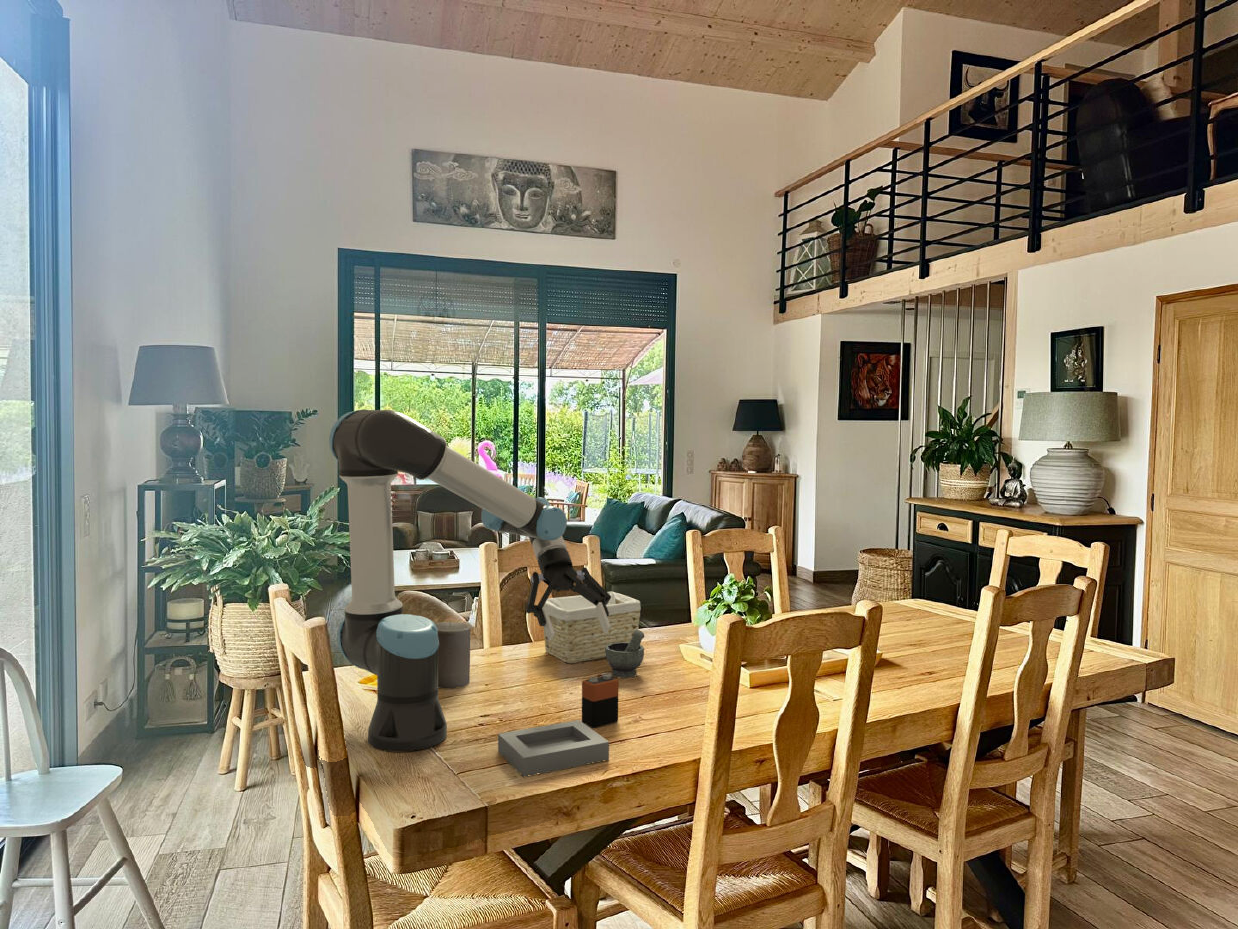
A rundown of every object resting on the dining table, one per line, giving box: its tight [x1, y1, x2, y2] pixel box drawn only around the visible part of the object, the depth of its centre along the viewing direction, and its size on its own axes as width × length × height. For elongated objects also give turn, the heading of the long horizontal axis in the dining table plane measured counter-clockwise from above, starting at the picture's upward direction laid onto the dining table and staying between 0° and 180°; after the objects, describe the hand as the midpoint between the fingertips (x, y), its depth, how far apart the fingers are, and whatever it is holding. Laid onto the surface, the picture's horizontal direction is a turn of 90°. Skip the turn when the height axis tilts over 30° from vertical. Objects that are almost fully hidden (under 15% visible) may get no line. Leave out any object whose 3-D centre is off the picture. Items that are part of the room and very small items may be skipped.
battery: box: [581, 672, 619, 729], centre depth 178 cm, size 4×7×10 cm, turn 127°
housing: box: [497, 719, 610, 777], centre depth 160 cm, size 17×13×4 cm
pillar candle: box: [435, 620, 472, 690], centre depth 204 cm, size 10×10×15 cm
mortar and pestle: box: [605, 629, 645, 679], centre depth 212 cm, size 11×9×12 cm
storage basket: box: [542, 591, 641, 664], centre depth 232 cm, size 24×16×15 cm
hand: (580, 633), depth 187 cm, fingers open, 13 cm apart
